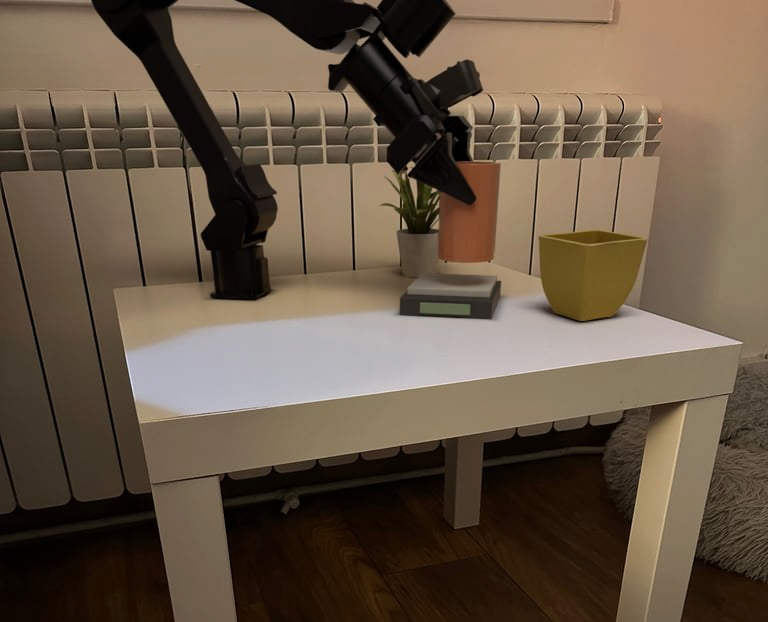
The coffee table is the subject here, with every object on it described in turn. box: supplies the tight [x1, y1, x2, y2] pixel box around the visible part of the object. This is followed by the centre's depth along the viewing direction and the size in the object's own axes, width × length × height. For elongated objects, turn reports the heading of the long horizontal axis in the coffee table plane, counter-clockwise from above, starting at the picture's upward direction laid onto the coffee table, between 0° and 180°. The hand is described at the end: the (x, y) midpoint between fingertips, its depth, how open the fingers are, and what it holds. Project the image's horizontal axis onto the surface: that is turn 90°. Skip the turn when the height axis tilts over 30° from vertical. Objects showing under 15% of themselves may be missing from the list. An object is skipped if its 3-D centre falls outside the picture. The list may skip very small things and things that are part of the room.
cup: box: [437, 160, 502, 264], centre depth 86 cm, size 7×7×10 cm
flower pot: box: [538, 229, 648, 322], centre depth 84 cm, size 9×9×9 cm
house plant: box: [379, 166, 440, 279], centre depth 106 cm, size 14×14×16 cm
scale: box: [399, 273, 502, 320], centre depth 91 cm, size 11×13×3 cm
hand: (479, 199), depth 85 cm, fingers closed on cup, 7 cm apart
